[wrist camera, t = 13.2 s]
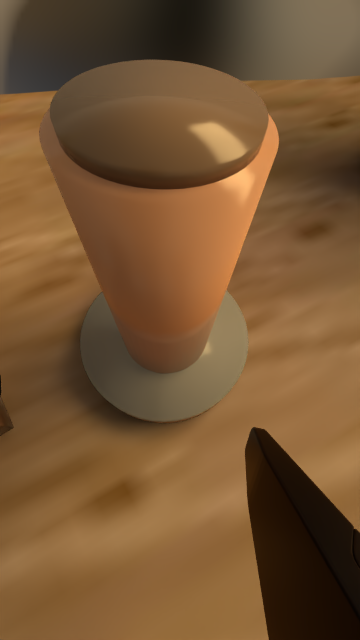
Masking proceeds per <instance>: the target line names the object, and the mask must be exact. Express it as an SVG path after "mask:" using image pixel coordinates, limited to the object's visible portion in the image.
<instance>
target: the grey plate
mask: <svg viewBox="0 0 360 640" xmlns="http://www.w3.org/2000/svg"><path fill="white" fill-rule="evenodd" d="M80 352H81V357H82V362H83V365H84V368H85V371H86V373H87V375H88V377H89V379H90V381H91V383H92V384H93V385H94V387H95V388H96V390H97V391H98V392H99V393H100V394H101V395H102V396H103V397H104V398H105V399H106V400H107V401H108V402H110V403H111V404H112V405H114V406H115V407H116V408H118V409H119V410H121V411H122V412H124V413H126V414H128V415H130V416H131V417H134V418H137V419H140V420H143V421H148V422H153V423H175V422H180V421H185V420H188V419H191V418H194V417H196V416H199V415H200V414H202V413H204V412H206V411H208V410H209V409H210V408H212V407H213V406H214V405H216V404H217V403H218V402H219V401H220V400H221V399H222V398H223V397H224V396H225V395H226V394H227V393H228V392H229V391H230V390H231V389H232V387H233V386H234V385H235V383H236V382H237V380H238V378H239V377H240V375H241V373H242V371H243V368H244V365H245V362H246V358H247V353H248V331H247V327H246V322H245V319H244V317H243V314H242V312H241V310H240V308H239V306H238V304H237V303H236V301H235V300H234V299H233V297H232V296H231V295H230V294H229V293H228V291H227V290H226V292H225V295H224V297H223V300H222V303H221V306H220V308H219V311H218V314H217V317H216V319H215V322H214V325H213V327H212V330H211V333H210V336H209V338H208V341H207V344H206V346H205V349H204V351H203V353H202V355H201V356H200V357H199V359H198V360H197V361H196V362H195V363H193V364H192V365H191V366H189V367H188V368H186V369H184V370H181V371H178V372H175V373H156V372H153V371H150V370H147V369H145V368H143V367H141V366H140V365H139V364H137V363H136V362H135V361H134V360H133V359H132V357H131V356H130V355H129V353H128V351H127V349H126V346H125V344H124V342H123V339H122V337H121V335H120V332H119V330H118V327H117V325H116V323H115V320H114V318H113V316H112V313H111V311H110V308H109V306H108V304H107V301H106V299H105V297H104V294H103V292H101V293H100V294H99V295H98V296H97V298H96V299H95V300H94V302H93V303H92V305H91V307H90V308H89V310H88V312H87V314H86V317H85V319H84V322H83V326H82V330H81V337H80Z"/></svg>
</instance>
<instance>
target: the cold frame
mask: <svg viewBox="0 0 360 640" xmlns="http://www.w3.org/2000/svg"><path fill="white" fill-rule="evenodd" d="M12 428H13V425H12V422H11V420H10V418H9V415H8V413H7V410H6V408H5V406H4V403H3V401H2V399H1V396H0V436H1V435H2V434H4V433H5V432H7V431H9V430H10V429H12Z"/></svg>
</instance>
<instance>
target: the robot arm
mask: <svg viewBox="0 0 360 640" xmlns="http://www.w3.org/2000/svg"><path fill="white" fill-rule="evenodd" d="M0 395H1V376H0ZM245 461H246V481H247V499H248V508H249V515H250V521H251V528H252V534H253V541H254V547H255V553H256V560H257V566H258V573H259V579H260V586H261V592H262V599H263V605H264V612H265V618H266V624H267V631H268V637H269V640H360V533H359V531H358V530H357V529H354V527H353V525H352V524H351V523H350V522H349V521H348V520H347V518H346V517H345V516H344V515H343V514H342V513H341V512H340V511H339V510H338V509H337V508H336V506H335V505H334V504H333V503H332V502H331V501H330V500H329V499H328V498H327V497H326V496H325V494H324V493H323V492H322V491H321V490H320V489H319V488H318V487H317V486H316V485H315V484H314V482H313V481H312V480H311V479H310V478H309V477H308V476H307V475H306V474H305V473H304V472H303V470H302V469H301V468H300V467H299V466H298V465H297V464H296V463H295V462H294V461H293V459H292V458H291V457H290V456H289V455H288V454H287V453H286V452H285V451H284V450H283V449H282V447H281V446H280V445H279V444H278V443H277V442H276V441H275V440H274V439H273V438H272V437H271V435H270V434H269V433H268V432H267V431H266V430H264V429H261V428H256V427H253V428H252V429H251V431H250V435H249V438H248V441H247V444H246V448H245Z"/></svg>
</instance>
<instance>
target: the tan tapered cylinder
mask: <svg viewBox="0 0 360 640" xmlns="http://www.w3.org/2000/svg"><path fill="white" fill-rule="evenodd" d="M39 136H40V143H41V146H42V149H43V152H44V154H45V156H46V159H47V161H48V164H49V166H50V168H51V171H52V173H53V175H54V178H55V180H56V183H57V185H58V187H59V190H60V192H61V194H62V197H63V199H64V202H65V204H66V206H67V209H68V211H69V213H70V216H71V218H72V221H73V223H74V225H75V228H76V230H77V232H78V235H79V237H80V240H81V242H82V244H83V247H84V249H85V251H86V254H87V256H88V259H89V261H90V263H91V266H92V268H93V270H94V273H95V275H96V278H97V280H98V282H99V285H100V287H101V289H102V292H103V294H104V297H105V299H106V301H107V304H108V306H109V308H110V311H111V313H112V316H113V318H114V320H115V323H116V325H117V327H118V330H119V332H120V335H121V337H122V339H123V342H124V344H125V346H126V349H127V351H128V353H129V355H130V356H131V357H132V359H133V360H134V361H135V362H136V363H137V364H139V365H140V366H141V367H143V368H145V369H147V370H150V371H153V372H156V373H175V372H178V371H181V370H184V369H186V368H188V367H189V366H191V365H192V364H193V363H195V362H196V361H197V360H198V359H199V357H200V356H201V355H202V353H203V351H204V349H205V346H206V344H207V341H208V338H209V336H210V333H211V330H212V327H213V325H214V322H215V319H216V317H217V314H218V311H219V308H220V306H221V303H222V300H223V297H224V295H225V292H226V289H227V287H228V284H229V281H230V278H231V276H232V273H233V270H234V268H235V265H236V262H237V259H238V257H239V254H240V251H241V248H242V246H243V243H244V240H245V238H246V235H247V232H248V229H249V227H250V224H251V221H252V219H253V216H254V213H255V210H256V208H257V205H258V202H259V199H260V197H261V194H262V191H263V189H264V186H265V183H266V180H267V178H268V175H269V172H270V169H271V167H272V164H273V161H274V159H275V156H276V153H277V150H278V145H279V137H278V131H277V128H276V125H275V123H274V122H273V120H272V118H271V117H270V115H269V114H268V111H267V108H266V105H265V104H264V102H263V100H262V99H261V98H260V96H259V95H258V94H257V93H256V92H255V91H254V90H253V89H251V88H250V87H249V86H248V85H246V84H245V83H243V82H242V81H240V80H238V79H236V78H234V77H232V76H230V75H228V74H226V73H223V72H220V71H217V70H215V69H212V68H208V67H205V66H201V65H196V64H192V63H185V62H178V61H169V60H138V61H137V60H136V61H127V62H119V63H114V64H109V65H105V66H101V67H98V68H95V69H92V70H89V71H87V72H85V73H82V74H80V75H78V76H76V77H75V78H73V79H71V80H70V81H68V82H67V83H66V84H64V86H62V87H61V88H60V89H59V90H58V92H57V93H56V94H55V96H54V97H53V100H52V102H51V105H50V108H49V109H48V111H47V112H46V114H45V115H44V117H43V119H42V122H41V125H40V130H39Z"/></svg>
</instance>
